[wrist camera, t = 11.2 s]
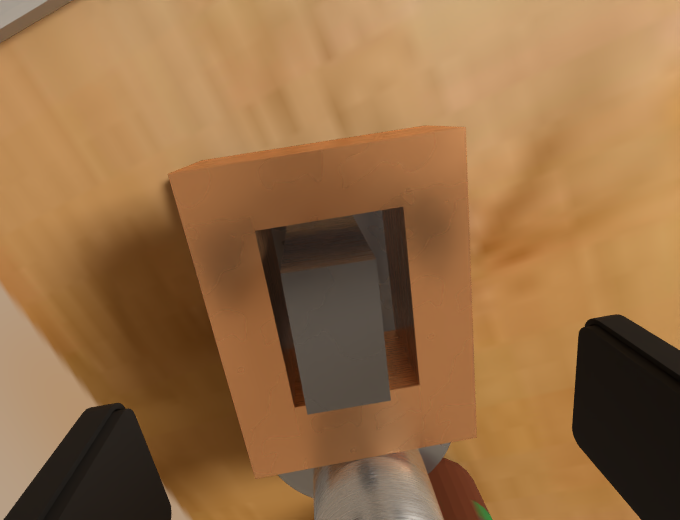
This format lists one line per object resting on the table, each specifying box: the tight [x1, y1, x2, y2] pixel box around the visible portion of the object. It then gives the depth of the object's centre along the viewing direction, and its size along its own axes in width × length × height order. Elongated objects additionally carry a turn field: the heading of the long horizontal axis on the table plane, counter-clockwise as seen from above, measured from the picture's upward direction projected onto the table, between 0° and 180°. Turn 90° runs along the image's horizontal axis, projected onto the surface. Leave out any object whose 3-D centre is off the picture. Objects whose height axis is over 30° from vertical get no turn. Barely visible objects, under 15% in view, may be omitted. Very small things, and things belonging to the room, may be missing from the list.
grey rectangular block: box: [280, 215, 391, 415], centre depth 16 cm, size 4×2×11 cm, turn 7°
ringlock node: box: [168, 126, 477, 520], centre depth 17 cm, size 19×14×15 cm
